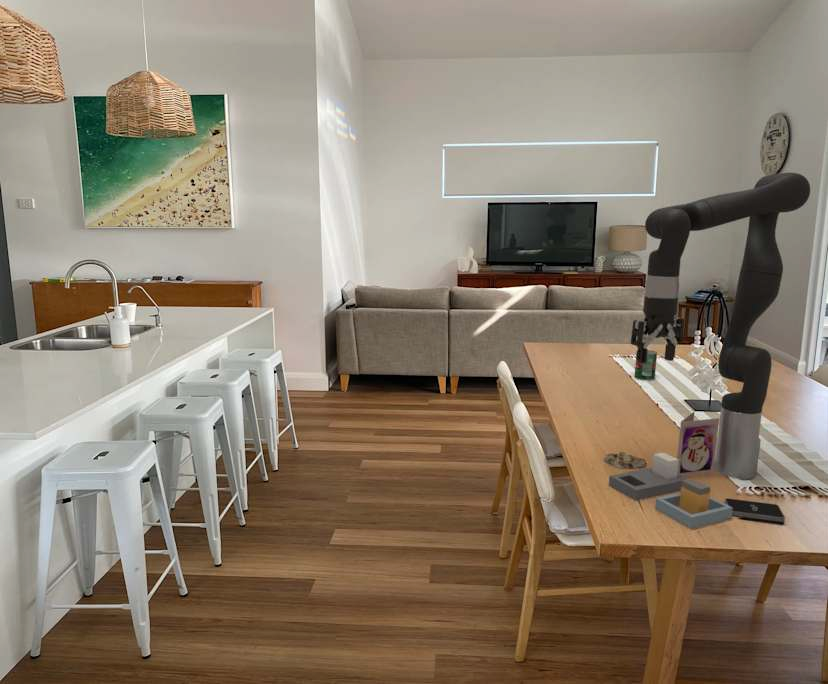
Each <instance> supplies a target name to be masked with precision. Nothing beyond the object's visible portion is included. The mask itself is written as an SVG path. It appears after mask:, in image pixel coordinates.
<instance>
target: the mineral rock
mask: <svg viewBox="0 0 828 684" xmlns="http://www.w3.org/2000/svg"><path fill="white" fill-rule="evenodd" d="M604 456H605V457H604V462H605V464H607V465H609V466H611V467H614V468H617V469H619V470H621V469H622V470H624V469H625V470H626V469H627V470H628V469H630V470H641V469H646V467H647V464H648V463H647V462H646V459H644V458H641V457H636V456H634V455H632V454H626V452H624V451H619V453H613V452H610V453H605V454H604Z"/></svg>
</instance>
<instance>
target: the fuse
mask: <svg viewBox="0 0 828 684" xmlns="http://www.w3.org/2000/svg"><path fill="white" fill-rule="evenodd" d="M678 461H679V459H677V458H676V457H674V456H671V455H670V454H668V453H666V452H658V453H653V457H652V472H653V473H655V474H657V475H659V476H661V477H663V478H665V479H667V480H669V479H674V478H677V472H678Z"/></svg>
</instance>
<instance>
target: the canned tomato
mask: <svg viewBox="0 0 828 684" xmlns="http://www.w3.org/2000/svg"><path fill="white" fill-rule="evenodd" d="M637 351H638V349H637V350H636V353H635V354H636V355H635V366H634V377H635V378H634V379H636V378H637V379H636V380H639V379H640V380H639V381H645V380H648V382H650V380H651V381H655V380H654V379H656V371H657V369H656V367H657V359H658V358H657V356H658V352H657V351H655V350H649V349H648V352H647V363H646V364H641V363H638V361H637Z"/></svg>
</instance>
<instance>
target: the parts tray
mask: <svg viewBox="0 0 828 684" xmlns="http://www.w3.org/2000/svg"><path fill="white" fill-rule="evenodd" d="M680 494H681V492H679V493H675V494H673V493H672V494H670V495H665V496H661V497H657V498H655V505H654V506H655V507H654V509H655V510H656V511H658V512H660V513H662V514H663V515H666V516H667V517H669V518H670V519H672V520H675V522H678V523H679V524H681V525H683V526H684V527H686V528H687V529H688V528H689V529H690V530H689V531H694V530H695V531H696V530H699V529H704V527H705V528H707V527H708V526H709V527H712V525H713V526H715V525H716V524H717V525H719V524H720V523H721V524H724V522H725V523H726V522H730V521H732V517H733V516H732V510H733V507H731V506H729V505H726V504H724V503H725V502H723V501H720V500H718V499H716V498H714V497H712V496H711V495H710V496H709V505H708V511H705V512H701V513H696V514H692V515H691V514H689V513H687V512H686V511H684V510H682V509H680V508H679V504H680ZM726 520H727V521H726ZM691 529H692V530H691Z"/></svg>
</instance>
